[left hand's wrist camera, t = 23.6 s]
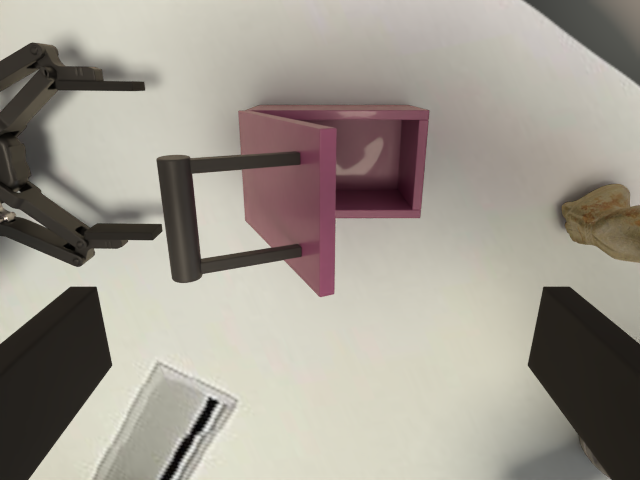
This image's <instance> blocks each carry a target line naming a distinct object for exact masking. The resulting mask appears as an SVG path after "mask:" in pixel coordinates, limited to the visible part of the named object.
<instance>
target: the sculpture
mask: <svg viewBox="0 0 640 480" xmlns="http://www.w3.org/2000/svg"><path fill="white" fill-rule="evenodd" d="M562 214H563V216H564V217H565V219H566V223H565V227H566V230H567V232H568V233H569V234H570V237H571V239H572V240H573V241H575V242H577V243H580V244H585V245H594V246H597V247H598V248H600V249H601V250H602V251H604V252H605V253H606V254H608V255H609V256H611V257H612V258H614V259H618V260H623V261H630V262H638V263H640V205H638V206H632V207H630V192H629V190H628V189H627V188H626V187H625V186H623V185H620V184H610V185H606V186H603V187H600V188H598V189H596V190H594V191H592V192H590V193H589V194H587V195H585V196H584V197H582V198H580V199H579V200H577V201H574V202H566V203H564V204H563V205H562Z"/></svg>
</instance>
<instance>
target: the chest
mask: <svg viewBox="0 0 640 480" xmlns="http://www.w3.org/2000/svg"><path fill="white" fill-rule="evenodd" d="M248 110H249V111H254V112H259V113H264V114H269V115H274V116H279V117H284V118H289V119H294V120H299V121H304V122H309V123H314V124H319V125H323V126H328V127H333V128H336V129H337V130H336V205H335V218H420V214H421V203H422V191H423V180H424V168H425V156H426V144H427V133H428V119H429V110H426V109H422V108H418V107H414V106H410V105H258V106H256V107H253V108H250V109H248ZM245 111H247V110H245Z"/></svg>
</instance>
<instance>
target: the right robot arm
mask: <svg viewBox="0 0 640 480" xmlns="http://www.w3.org/2000/svg"><path fill="white" fill-rule="evenodd" d="M58 55H59V54H58V50H57V48H56V47H54V46H53V45H47V44H40V43H30V44H28V45H27V46H25V47H23V48H22V49H20V50H18V51H17V52H15V53H13V54H12V55H10V56H8V57H7V58H5V59H3V60H2V61H0V92H1V91H2V90H4V89H6V88H7V87H9V86H11V85H12V84H14V83H16V82H18V81H19V80H21V79H23V78H24V77H26V76H28V75H30V74H31V73H33V72H35V71H36V70H38V69H39V71H38V72H37V73H36V74H35V75H34V76H33V77H32V78H31V79H30V81H29V82H28V83H27V84H26V85H25V86H24V87H23V88H22V89H21V90H20V92H19V93H18V94H17V95H16V96H15V97H14V98H13V99H12V100H11V101H10V103H9V104H8V105H7V106H6V107H5V108H4V109H3V110H2V111H1V112H0V236H6V237H8V238H10V239H13V240H15V241H17V242H20V243H22V244H24V245H27V246H29V247H31V248H34V249H36V250H38V251H41V252H43V253H45V254H48V255H50V256H52V257H55V258H57V259H59V260H62V261H64V262H66V263H69V264H71V265H73V266H76V267H80V266H82V265H83V264H84V263H85V262H87V261H88V260H89V259H91V258H92V257H93V256H94V255H95V251H94V248H112V249H117V248H120V247H122V246H124V245H125V244H126V243H127V242H128V240H154V239H155V238H156V237H157V236H158V235H159V234H160V233H161V232H162V224H104V223H98V224H96V225H94V226H93V227H91V228H89V227H88V226H87V225H85V224H84V223H82V222H81V221H80V220H78V219H77V218H75V217H74V216H73V215H71V214H70V213H68V212H67V211H65V210H64V209H63V208H61V207H60V206H58V205H57V204H56V203H54V202H53V201H51V200H50V199H49V198H47V197H46V196H44V195H43V194H42V193H41V190H40V189H39V188H38V187H36V186H35V185H34V184H32V183H31V182H29V181H28V177H30V176H31V173H30V168H29V166H28V164H27V162H26V160H25V158H26V151H25V146H24V144H21V143H20V141H19V140H18V138H17V137H18V136H19V135H20V133H21V132H22V131H23V130H24V129H25V128H26V127H27V125H26V124H27V123H28V122H29V121H30V120H31V119H32V118H33V117H34V115H35V114H36V113H37V112H38V111H39V110H40V109H41V108H42V107H43V106H44V105H45V104H46V103H47V102H48V101H49V100H50V98H51V97H52V96H53V95H54V94H55V93H56V92H57V91H58V90H90V91H145V85H144V82H125V81H104V80H103V74H102V70H101V69H99V68H96V67H72V66H65V65H63V64H62V63H61V61H60V60H59V58H58ZM17 191H20V193H16V192H17ZM2 203H6V204H7V205H9V206H10V207H12V208H16V209H20V210H22V211H23V212H25V213H26V214H28V215H29V216H30V217H32V218H33V219H35V220H36V221H38V222H39V223H41V224H42V225H44V226H45V227H46V228H45V227H43V226H41V225H38V224H36V223H34V222H32V221H29V220H27V219H24V218H20V217H16V214H15V213H14V212H9V211H7V210H5V209H4V208H3V207H2Z"/></svg>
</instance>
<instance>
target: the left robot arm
mask: <svg viewBox="0 0 640 480" xmlns="http://www.w3.org/2000/svg"><path fill="white" fill-rule="evenodd" d="M111 366H112V362H111V357H110V352H109V347H108V342H107V337H106V332H105V327H104V322H103V317H102V312H101V307H100V302H99V297H98V292H97V287H70V288H68V289H67V290H66V291H65V292H63V293H62V294H61V295H60V296H59V297H57V298H56V299H55V300H54V301H52V302H51V303H50V304H49V305H48V306H46V307H45V308H44V309H43V310H41V311H40V312H39V313H38V314H37V315H35V316H34V317H33V318H32V319H30V320H29V321H28V322H27V323H26V324H24V325H23V326H22V327H21V328H19V329H18V330H17V331H16V332H15V333H13V334H12V335H11V336H10V337H8V338H7V339H6V340H5V341H4V342H2V343H1V344H0V480H28V479H29V478H30V477H31V475H32V474H33V473H34V471H35V470H36V469H37V467H38V466H39V464H40V463H41V462H42V460H43V459H44V458H45V456H46V455H47V454H48V452H49V451H50V449H51V448H52V447H53V445H54V444H55V443H56V441H57V440H58V439H59V437H60V436H61V434H62V433H63V432H64V430H65V429H66V428H67V426H68V425H69V424H70V422H71V421H72V420H73V418H74V417H75V415H76V414H77V413H78V411H79V410H80V409H81V407H82V406H83V405H84V403H85V402H86V400H87V399H88V398H89V396H90V395H91V394H92V392H93V391H94V390H95V388H96V387H97V385H98V384H99V383H100V381H101V380H102V379H103V377H104V376H105V375H106V373H107V372H108V371H109V369H110V368H111ZM528 366H529V368H530V369H531V371H532V372H533V373H534V375H535V376H536V377H537V379H538V380H539V381H540V383H541V384H542V385H543V387H544V388H545V390H546V391H547V392H548V394H549V395H550V396H551V398H552V399H553V400H554V402H555V403H556V405H557V406H558V407H559V409H560V410H561V411H562V413H563V414H564V415H565V417H566V418H567V420H568V421H569V422H570V424H571V425H572V426H573V428H574V429H575V430H576V432H577V433H578V434H579V439H580V444H581V447H582V449H583V451H584V452H585V454H586V455H587V457H588V458H589V459H590V461H591V462H592V463H593V464H594V465H595V466H596V467H597V468H598V469H599V470H600V471H601V472H602V473H604V474H605V475H606V476H608V477H609V478H610V479H611V480H640V344H639V343H638V342H636V341H635V340H634V339H633V338H632V337H630V336H629V335H628V334H627V333H625V332H624V331H623V330H622V329H621V328H619V327H618V326H617V325H616V324H614V323H613V322H612V321H611V320H610V319H608V318H607V317H606V316H605V315H603V314H602V313H601V312H600V311H599V310H597V309H596V308H595V307H594V306H592V305H591V304H590V303H589V302H588V301H586V300H585V299H584V298H583V297H581V296H580V295H579V294H578V293H577V292H575V291H574V290H573V289H572V288H570V287H543V292H542V297H541V302H540V307H539V312H538V317H537V322H536V327H535V332H534V337H533V342H532V347H531V352H530V357H529V362H528Z"/></svg>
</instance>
